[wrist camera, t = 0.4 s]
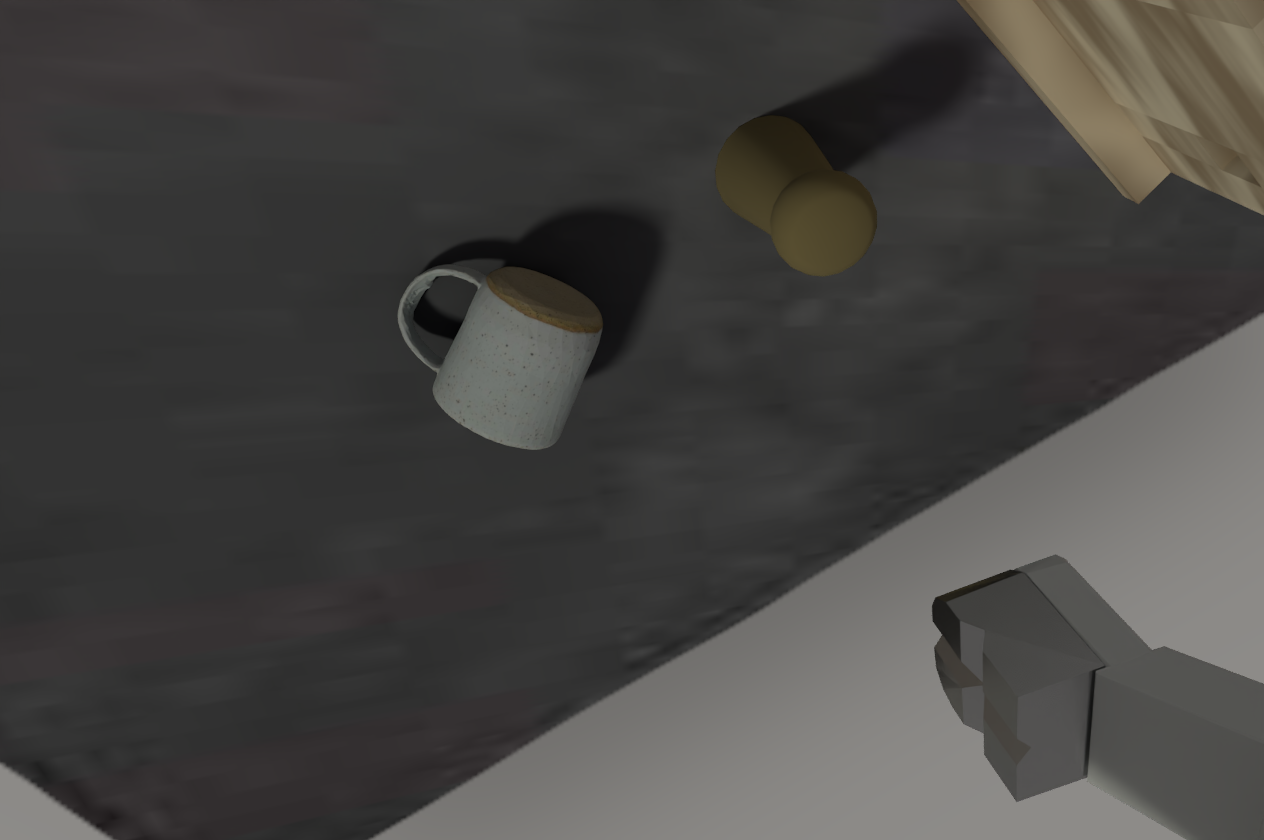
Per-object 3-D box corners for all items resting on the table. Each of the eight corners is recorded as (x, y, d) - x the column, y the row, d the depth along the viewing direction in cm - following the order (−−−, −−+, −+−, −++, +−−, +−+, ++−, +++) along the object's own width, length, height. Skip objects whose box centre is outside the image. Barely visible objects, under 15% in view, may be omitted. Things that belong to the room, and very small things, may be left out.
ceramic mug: (601, 286, 61) (623, 341, 54) (549, 403, 64) (564, 468, 57) (426, 224, 57) (426, 275, 51) (379, 351, 60) (375, 415, 54)
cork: (712, 222, 60) (770, 298, 51) (717, 116, 57) (780, 176, 48) (812, 217, 61) (886, 289, 52) (822, 112, 58) (904, 170, 49)
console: (1030, -257, 51) (1348, -293, 34) (1254, 67, 62) (1579, 163, 45) (883, -86, 53) (1109, -39, 36) (1123, 196, 64) (1383, 332, 48)
